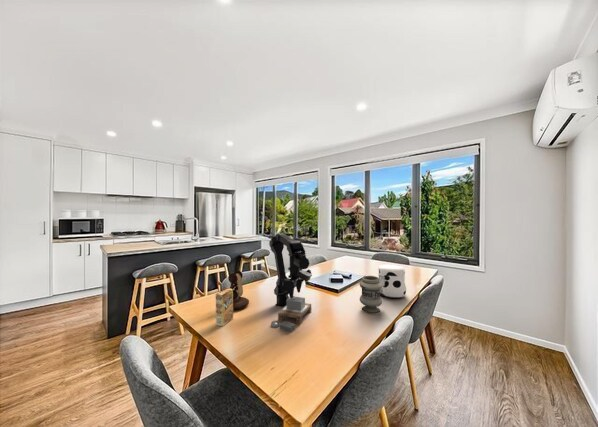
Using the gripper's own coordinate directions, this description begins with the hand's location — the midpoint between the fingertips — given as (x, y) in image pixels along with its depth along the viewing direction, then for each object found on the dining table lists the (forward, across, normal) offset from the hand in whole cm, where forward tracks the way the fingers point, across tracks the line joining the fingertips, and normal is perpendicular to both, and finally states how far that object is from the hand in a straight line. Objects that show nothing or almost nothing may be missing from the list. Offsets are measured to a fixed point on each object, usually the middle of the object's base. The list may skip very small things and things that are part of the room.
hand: (295, 295), depth 122 cm
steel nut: (+11, -13, +5) cm, 18 cm away
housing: (+6, 0, 0) cm, 7 cm away
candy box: (+11, -19, +30) cm, 37 cm away
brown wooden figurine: (+11, -1, +37) cm, 39 cm away
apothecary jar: (+11, +21, -36) cm, 43 cm away
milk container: (+11, +49, -46) cm, 68 cm away
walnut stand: (+11, 0, 0) cm, 11 cm away
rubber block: (+11, -14, -2) cm, 18 cm away
